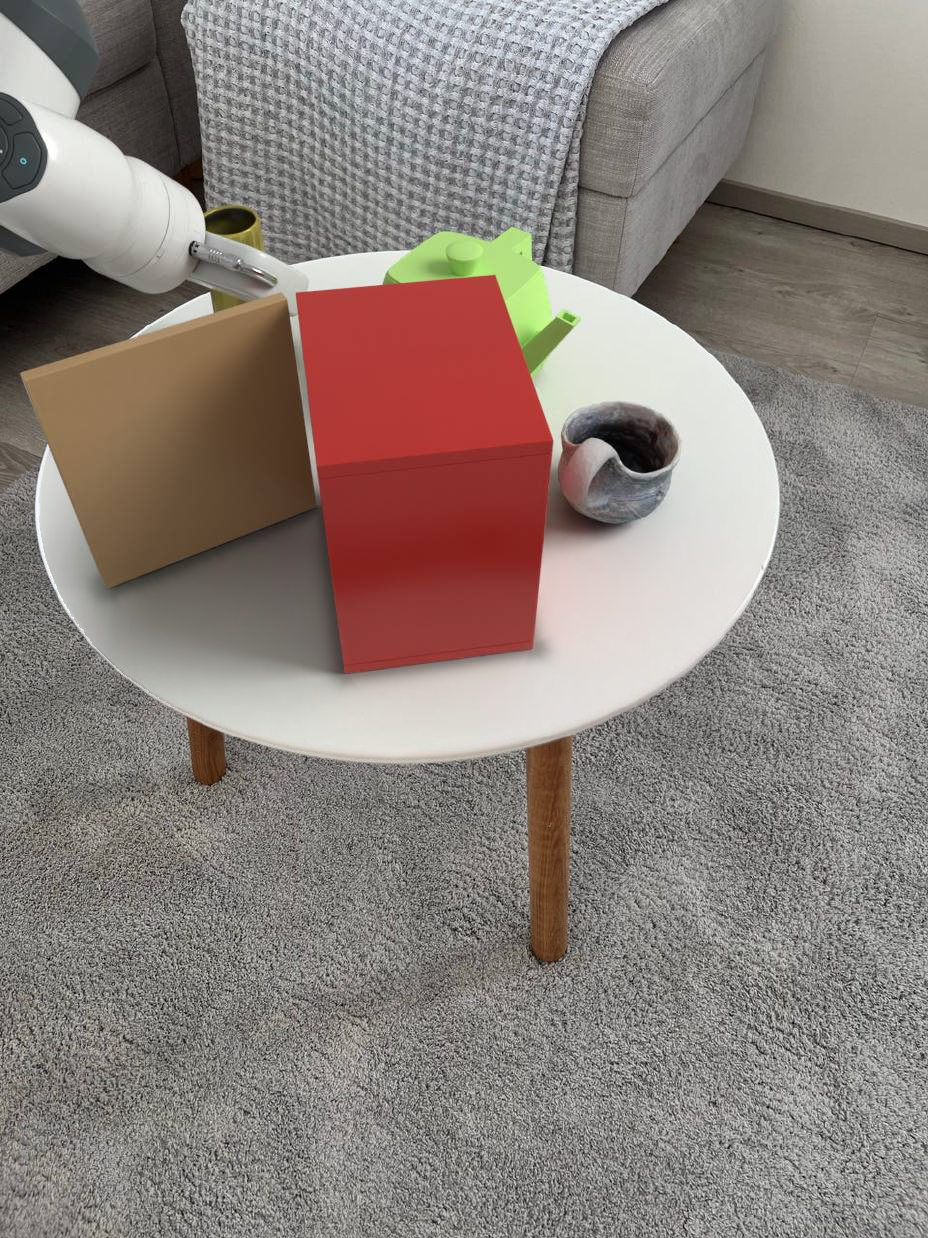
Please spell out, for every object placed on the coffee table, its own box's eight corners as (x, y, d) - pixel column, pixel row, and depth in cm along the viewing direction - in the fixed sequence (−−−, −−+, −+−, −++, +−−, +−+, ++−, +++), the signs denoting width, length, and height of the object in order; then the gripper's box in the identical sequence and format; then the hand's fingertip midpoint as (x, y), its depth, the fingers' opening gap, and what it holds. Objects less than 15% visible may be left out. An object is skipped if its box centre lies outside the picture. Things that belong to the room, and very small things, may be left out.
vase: (291, 342, 99) (271, 203, 88) (277, 381, 96) (254, 240, 85) (229, 338, 100) (202, 199, 89) (213, 376, 96) (183, 236, 85)
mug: (681, 482, 87) (704, 387, 79) (639, 582, 80) (658, 488, 72) (575, 452, 89) (586, 356, 82) (524, 546, 82) (531, 451, 74)
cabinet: (344, 674, 74) (316, 466, 58) (323, 503, 85) (295, 291, 70) (533, 649, 75) (553, 440, 60) (487, 485, 87) (495, 274, 71)
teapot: (618, 363, 98) (637, 237, 88) (505, 479, 87) (512, 351, 77) (460, 300, 104) (460, 177, 94) (337, 402, 94) (323, 274, 84)
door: (80, 538, 82) (-4, 328, 67) (285, 462, 88) (250, 254, 73) (106, 589, 79) (23, 380, 63) (317, 507, 85) (287, 298, 69)
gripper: (266, 226, 75) (351, 281, 88) (62, 158, 82) (168, 219, 95) (239, 309, 76) (326, 351, 89) (38, 235, 83) (147, 285, 96)
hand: (243, 283), depth 92 cm, fingers closed on vase, 5 cm apart
